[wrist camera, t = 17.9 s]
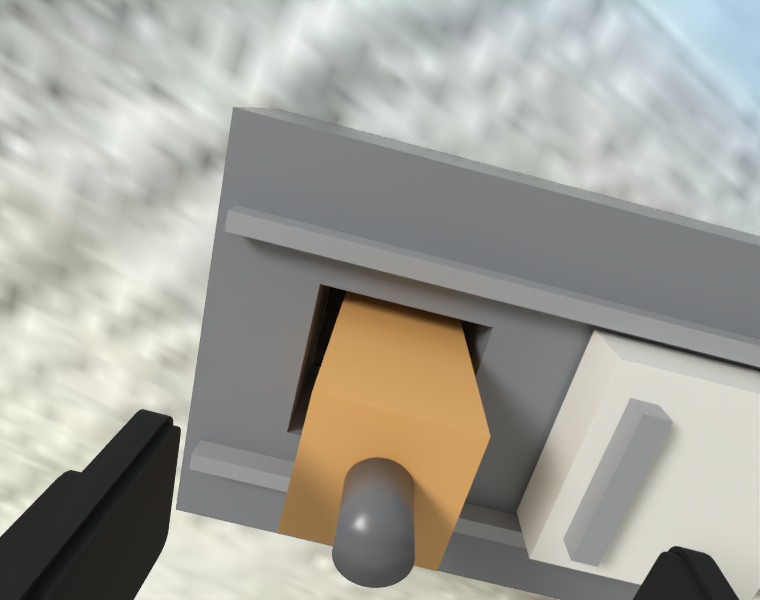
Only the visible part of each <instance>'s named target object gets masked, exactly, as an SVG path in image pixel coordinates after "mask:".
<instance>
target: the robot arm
mask: <svg viewBox="0 0 760 600" xmlns="http://www.w3.org/2000/svg"><path fill="white" fill-rule="evenodd" d="M180 435H181V429H180V427H177V426H174V425H173V418H172V417H171V416H167V415H163V414H159V413H155V412H152V411H148V410H144V409H142V410H139V411H138V412H137V413H136V414H135V415H134V416H133V417H132V418H131V419H130V420H129V421H128V423H127V424H126V425H125V426H124V427H123V428H122V429H121V430H120V431H119V432H118V433H117V434H116V436H115V437H114V438H113V439H112V440H111V441H110V442H109V443H108V444H107V445H106V446H105V447H104V449H103V450H102V451H101V452H100V453H99V454H98V455H97V456H96V457H95V458H94V459H93V460H92V462H91V463H90V464H89V465H88V466H87V467H86V468H85V469H84V470H83V471H82V472H78V471H73V470H69V471H67V472H65V473H63V474H62V475H61V476H60V477H59V478H57V479H56V480H55V481H54V482H53V483H52V484H51V485H50V486H49V488H48V489H47V490H46V491H45V492H44V493H43V494H42V495H41V496H40V497H39V498H38V499H37V500H36V501H35V502H34V503H33V504H32V505H31V506H30V507H29V508H28V509H27V510H26V511H25V512H24V513H23V514H22V515H21V516H20V517H19V518H18V519H17V520H16V521H15V522H14V524H13V525H12V526H11V527H10V528H9V529H8V530H7V531H6V532H5V533H4V534H3V535H2V536H1V537H0V600H134V598H135V597H136V595H137V593H138V591H139V590H140V588H141V586H142V584H143V583H144V581H145V579H146V578H147V576H148V574H149V572H150V571H151V569H152V567H153V566H154V564H155V562H156V560H157V559H158V557H159V555H160V553H161V552H162V549H163V547H164V545H165V542H166V539H167V535H168V530H169V522H170V514H171V506H172V498H173V490H174V482H175V474H176V466H177V459H178V451H179V443H180ZM633 600H739V598H738V597H737V595H736V594H735V592H734V590H733V589H732V587H731V586H730V584H729V583H728V581H727V579H726V578H725V576H724V575H723V573H722V572H721V570H720V568H719V567H718V565H717V564H716V562H715V561H714V559H713V558H712V557H711V556H710V555H708V554H706V553H703V552H699V551H695V550H691V549H687V548H684V547H680V546H674V547H671V548H670V549H669V550H668V551H667V552H666V551H664V552H662V553H661V554H660V555H659V556H658V558H657V560H656V561H655V563H654V565H653V566H652V568H651V570H650V571H649V573H648V575H647V576H646V578H645V580H644V581H643V583H642V585H641V586H640V588H639V590H638V591H637V593H636V595H635V596H634V598H633Z"/></svg>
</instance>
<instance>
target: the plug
mask: <svg viewBox="0 0 760 600" xmlns="http://www.w3.org/2000/svg"><path fill="white" fill-rule="evenodd" d="M490 437H491V436H490V432H489V428H488V425H487V421H486V417H485V413H484V409H483V405H482V401H481V398H480V394H479V390H478V386H477V382H476V378H475V375H474V371H473V367H472V363H471V359H470V355H469V351H468V348H467V344H466V340H465V336H464V332H463V328H462V325H461V321H460V319H457V318H453V317H449V316H445V315H441V314H437V313H433V312H429V311H425V310H421V309H417V308H413V307H409V306H405V305H401V304H398V303H394V302H390V301H386V300H382V299H378V298H374V297H370V296H366V295H362V294H358V293H354V292H350V291H346V294H345V297H344V300H343V303H342V306H341V309H340V312H339V315H338V318H337V320H336V323H335V326H334V329H333V332H332V335H331V338H330V341H329V344H328V347H327V350H326V353H325V356H324V358H323V361H322V364H321V367H320V370H319V373H318V376H317V379H316V382H315V385H314V388H313V391H312V394H311V398H310V402H309V406H308V410H307V415H306V419H305V423H304V427H303V431H302V435H301V439H300V443H299V447H298V451H297V455H296V459H295V463H294V467H293V471H292V475H291V479H290V483H289V487H288V491H287V495H286V499H285V503H284V507H283V511H282V515H281V519H280V523H279V527H278V531H277V532H279V533H283V534H287V535H291V536H295V537H299V538H303V539H308V540H312V541H316V542H320V543H324V544H328V545H332V546H333V550H332V557H333V562H334V564H335V566H336V568H337V570H338V571H339V572H340V573H341V574H342V575H343V576H344V577H345V578H346V579H348V580H349V581H351V582H353V583H355V584H358V585H361V586H365V587H371V588H380V587H387V586H391V585H394V584H396V583H398V582H400V581H401V580H403V579H404V578H405V577H406V576H407V575H408V574H409V573H410V571H411V570H412V568H413V565H414V566H418V567H422V568H426V569H430V570H434V571H437V570H438V568H439V565H440V563H441V560H442V558H443V555H444V553H445V550H446V548H447V545H448V543H449V540H450V538H451V535H452V532H453V530H454V527H455V525H456V522H457V520H458V517H459V515H460V512H461V510H462V507H463V505H464V502H465V500H466V497H467V495H468V492H469V490H470V487H471V485H472V482H473V480H474V477H475V475H476V472H477V470H478V467H479V465H480V462H481V460H482V457H483V455H484V452H485V450H486V447H487V445H488V442H489V440H490Z"/></svg>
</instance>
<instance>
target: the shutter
mask: <svg viewBox="0 0 760 600" xmlns="http://www.w3.org/2000/svg"><path fill="white" fill-rule="evenodd" d="M517 515H518V519H519V523H520V526H521V530H522V534H523V537H524V541H525V544H526V548H527V552H528V555H529V559H533V560H537V561H542V562H546V563H550V564H554V565H558V566H563V567H567V568H571V569H575V570H580V571H584V572H588V573H592V574H597V575H601V576H605V577H609V578H614V579H618V580H622V581H626V582H631V583H635V584H639V585H642V583H643V581H644V580H645V578H646V576H647V575H648V573H649V571H650V570H651V568H652V566H653V565H654V563H655V561H656V560H657V558H658V556H659V555H660V554H661V553H662V552H664V551H666V552H667V551H668V550H669V549H670V548H671V547H674V546H680V547H684V548H687V549H691V550H695V551H699V552H703V553H706V554H708V555H710V556H711V557H712V558H713V559H714V561H715V562H716V564H717V565H718V567H719V568H720V570H721V572H722V573H723V575H724V576H725V578H726V579H727V581H728V583H729V584H730V586H731V587H732V589H733V590H734V592H735V594H736V595H737V597H738V598H739V600H752V599H753V597H754V596H755V594H756V593H757V591H758V590H759V588H760V371H757V370H753V369H749V368H745V367H741V366H737V365H733V364H729V363H725V362H721V361H717V360H713V359H709V358H706V357H702V356H698V355H694V354H690V353H686V352H682V351H678V350H674V349H670V348H666V347H662V346H658V345H654V344H650V343H646V342H643V341H639V340H635V339H631V338H627V337H623V336H619V335H615V334H611V333H607V332H603V331H599V330H595V329H594V331H593V334H592V336H591V338H590V341H589V343H588V345H587V348H586V350H585V352H584V355H583V357H582V359H581V362H580V364H579V366H578V369H577V371H576V373H575V376H574V378H573V381H572V383H571V385H570V388H569V390H568V392H567V395H566V397H565V399H564V402H563V404H562V406H561V409H560V411H559V413H558V416H557V418H556V420H555V423H554V425H553V427H552V430H551V432H550V434H549V437H548V439H547V441H546V444H545V446H544V448H543V451H542V453H541V455H540V458H539V460H538V463H537V465H536V467H535V470H534V472H533V474H532V477H531V479H530V481H529V484H528V486H527V488H526V491H525V493H524V495H523V498H522V500H521V502H520V505H519V507H518V509H517Z"/></svg>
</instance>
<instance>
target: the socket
mask: <svg viewBox="0 0 760 600" xmlns="http://www.w3.org/2000/svg"><path fill="white" fill-rule="evenodd" d="M330 287H334V288H338V289H342V290H346V291H350V292H354V293H358V294H362V295H366V296H370V297H374V298H378V299H382V300H386V301H390V302H394V303H398V304H401V305H405V306H409V307H413V308H417V309H421V310H425V311H429V312H433V313H437V314H441V315H445V316H449V317H453V318H457V319H460V321H461V325H462V328H463V332H464V336H465V340H466V344H467V348H468V351H469V355H470V359H471V363H472V367H473V371H474V375H475V378H476V382H477V386H478V390H479V394H480V398H481V401H482V405H483V409H484V413H485V417H486V421H487V425H488V428H489V432H490V436H491V437H490V440H489V442H488V445H487V447H486V450H485V452H484V455H483V457H482V460H481V462H480V465H479V467H478V470H477V472H476V475H475V477H474V480H473V482H472V485H471V487H470V490H469V492H468V495H467V497H466V500H465V502H464V505H463V507H462V510H461V512H460V515H459V517H458V520H457V522H456V525H455V527H454V530H453V532H452V535H451V538H450V540H449V543H448V545H447V548H446V550H445V553H444V555H443V558H442V560H441V563H440V565H439V568H438V570H437V571H441V572H446V573H450V574H454V575H459V576H463V577H467V578H471V579H476V580H480V581H484V582H489V583H493V584H497V585H501V586H506V587H510V588H514V589H519V590H523V591H527V592H531V593H536V594H540V595H544V596H549V597H553V598H557V599H561V600H633V598H634V596H635V595H636V593H637V591H638V590H639V588H640V586H641V585H639V584H635V583H631V582H626V581H622V580H618V579H614V578H609V577H605V576H601V575H597V574H592V573H588V572H584V571H580V570H575V569H571V568H567V567H563V566H558V565H554V564H550V563H546V562H542V561H537V560H533V559H529V555H528V552H527V548H526V544H525V541H524V537H523V534H522V530H521V526H520V523H519V519H518V515H517V509H518V507H519V505H520V502H521V500H522V498H523V495H524V493H525V491H526V488H527V486H528V484H529V481H530V479H531V477H532V474H533V472H534V470H535V467H536V465H537V463H538V460H539V458H540V455H541V453H542V451H543V448H544V446H545V444H546V441H547V439H548V437H549V434H550V432H551V430H552V427H553V425H554V423H555V420H556V418H557V416H558V413H559V411H560V409H561V406H562V404H563V402H564V399H565V397H566V395H567V392H568V390H569V388H570V385H571V383H572V381H573V378H574V376H575V373H576V371H577V369H578V366H579V364H580V362H581V359H582V357H583V355H584V352H585V350H586V348H587V345H588V343H589V341H590V338H591V336H592V334H593V331H594V329H595V330H599V331H603V332H607V333H611V334H615V335H619V336H623V337H627V338H631V339H635V340H639V341H643V342H646V343H650V344H654V345H658V346H662V347H666V348H670V349H674V350H678V351H682V352H686V353H690V354H694V355H698V356H702V357H706V358H709V359H713V360H717V361H721V362H725V363H729V364H733V365H737V366H741V367H745V368H749V369H753V370H757V371H760V236H756V235H752V234H748V233H744V232H741V231H737V230H733V229H729V228H725V227H722V226H718V225H714V224H710V223H707V222H703V221H699V220H695V219H691V218H688V217H684V216H680V215H676V214H672V213H669V212H665V211H661V210H657V209H654V208H650V207H646V206H642V205H638V204H635V203H631V202H627V201H623V200H619V199H616V198H612V197H608V196H604V195H601V194H597V193H593V192H589V191H585V190H582V189H578V188H574V187H570V186H566V185H563V184H559V183H555V182H551V181H548V180H544V179H540V178H536V177H532V176H529V175H525V174H521V173H517V172H513V171H510V170H506V169H502V168H498V167H495V166H491V165H487V164H483V163H479V162H476V161H472V160H468V159H464V158H460V157H457V156H453V155H449V154H445V153H442V152H438V151H434V150H430V149H426V148H423V147H419V146H415V145H411V144H407V143H404V142H400V141H396V140H392V139H389V138H385V137H381V136H377V135H373V134H370V133H366V132H362V131H358V130H354V129H351V128H347V127H343V126H339V125H336V124H332V123H328V122H324V121H320V120H317V119H313V118H309V117H305V116H301V115H298V114H294V113H290V112H286V111H283V110H279V109H266V108H243V107H233V113H232V120H231V127H230V134H229V141H228V148H227V155H226V162H225V169H224V176H223V183H222V190H221V197H220V204H219V211H218V218H217V225H216V232H215V239H214V246H213V253H212V260H211V267H210V274H209V281H208V288H207V295H206V302H205V309H204V316H203V323H202V330H201V337H200V344H199V351H198V358H197V365H196V372H195V379H194V386H193V393H192V400H191V407H190V414H189V421H188V428H187V435H186V442H185V449H184V456H183V463H182V470H181V477H180V484H179V491H178V497H177V504H176V510H180V511H184V512H188V513H193V514H197V515H201V516H206V517H210V518H214V519H218V520H223V521H227V522H231V523H236V524H240V525H244V526H248V527H253V528H257V529H261V530H266V531H270V532H274V533H278V534H283V533H279V532H277V531H278V527H279V523H280V519H281V515H282V511H283V507H284V503H285V499H286V495H287V491H288V487H289V483H290V479H291V475H292V471H293V467H294V463H295V459H296V455H297V451H298V447H299V443H300V439H301V435H302V431H303V427H304V423H305V419H306V415H307V410H308V406H309V402H310V398H311V394H312V391H313V388H314V385H315V382H316V379H317V376H318V373H319V370H320V367H319V366H315V365H313V361H314V356H315V352H316V347H317V343H318V339H319V334H320V330H321V326H322V321H323V317H324V313H325V308H326V304H327V299H328V295H329V291H330ZM283 535H287V534H283ZM287 536H291V535H287ZM291 537H295V536H291ZM296 538H299V537H296ZM300 539H303V538H300ZM304 540H308V539H304ZM308 541H312V540H308ZM313 542H316V541H313ZM317 543H320V542H317ZM321 544H324V543H321ZM326 545H328V544H326ZM330 546H332V545H330Z"/></svg>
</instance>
